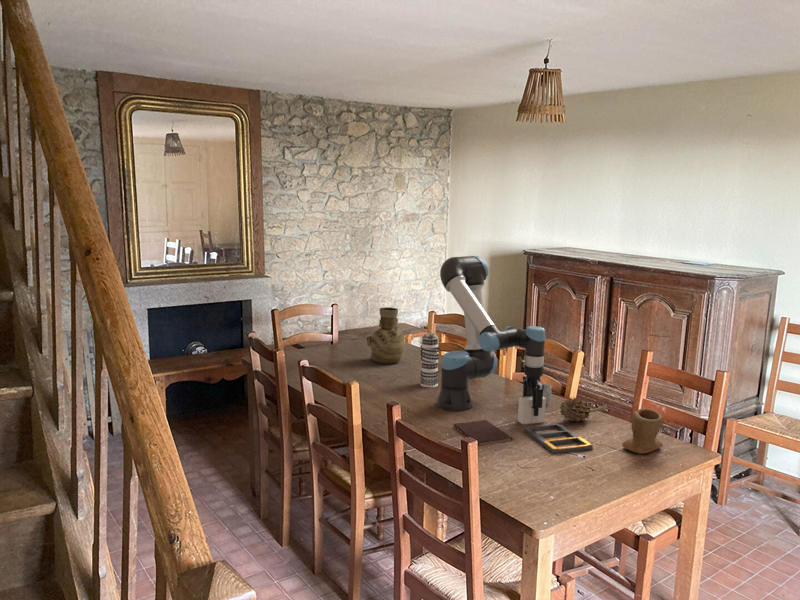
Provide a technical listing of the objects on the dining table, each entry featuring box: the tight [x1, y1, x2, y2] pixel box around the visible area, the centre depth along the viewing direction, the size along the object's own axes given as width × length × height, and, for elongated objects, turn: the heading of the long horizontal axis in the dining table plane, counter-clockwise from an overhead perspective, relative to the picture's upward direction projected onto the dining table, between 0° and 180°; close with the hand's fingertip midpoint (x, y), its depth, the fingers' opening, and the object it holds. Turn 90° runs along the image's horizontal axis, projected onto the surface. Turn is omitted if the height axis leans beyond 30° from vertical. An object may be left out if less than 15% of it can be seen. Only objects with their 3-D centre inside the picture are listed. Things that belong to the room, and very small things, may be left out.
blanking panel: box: [517, 396, 547, 425], centre depth 249 cm, size 10×4×10 cm, turn 106°
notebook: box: [452, 419, 514, 446], centre depth 236 cm, size 15×20×2 cm
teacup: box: [540, 382, 553, 405], centre depth 273 cm, size 14×11×8 cm
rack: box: [522, 423, 594, 455], centre depth 230 cm, size 16×23×2 cm
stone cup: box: [622, 408, 664, 455], centre depth 221 cm, size 15×12×15 cm
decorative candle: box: [420, 332, 440, 388], centre depth 295 cm, size 9×9×25 cm
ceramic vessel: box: [366, 306, 405, 365], centre depth 336 cm, size 19×21×30 cm
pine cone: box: [558, 397, 609, 422], centre depth 251 cm, size 22×10×10 cm, turn 110°
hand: (531, 420), depth 249 cm, fingers open, 4 cm apart
